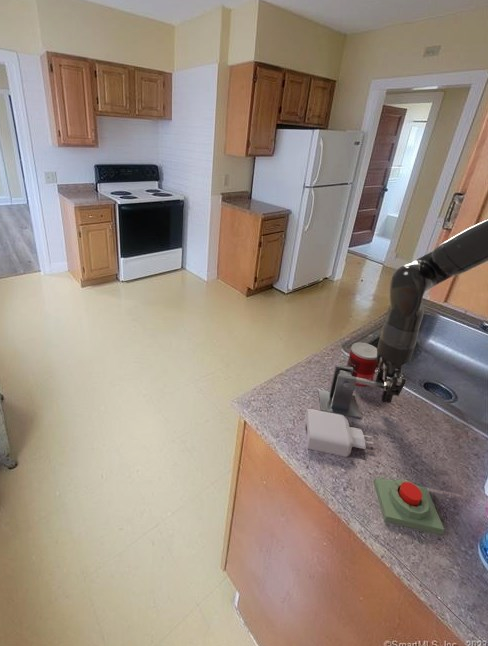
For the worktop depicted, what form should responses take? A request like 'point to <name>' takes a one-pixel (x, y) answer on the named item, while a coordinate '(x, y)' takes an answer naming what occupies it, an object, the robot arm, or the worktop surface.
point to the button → (410, 493)
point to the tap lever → (365, 380)
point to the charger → (332, 433)
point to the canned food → (363, 361)
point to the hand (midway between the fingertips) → (382, 393)
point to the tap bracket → (340, 395)
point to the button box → (407, 507)
